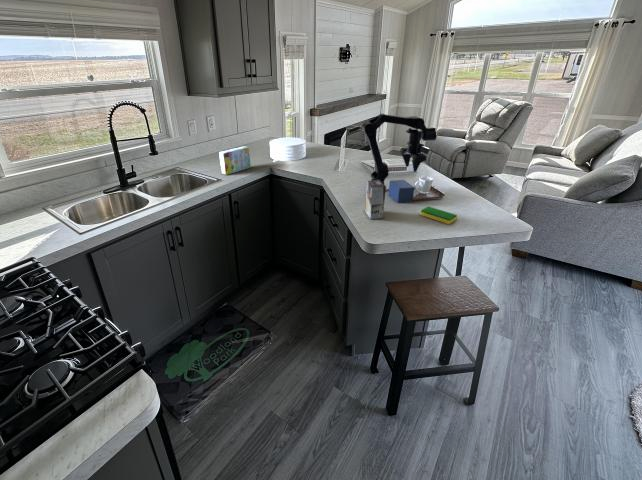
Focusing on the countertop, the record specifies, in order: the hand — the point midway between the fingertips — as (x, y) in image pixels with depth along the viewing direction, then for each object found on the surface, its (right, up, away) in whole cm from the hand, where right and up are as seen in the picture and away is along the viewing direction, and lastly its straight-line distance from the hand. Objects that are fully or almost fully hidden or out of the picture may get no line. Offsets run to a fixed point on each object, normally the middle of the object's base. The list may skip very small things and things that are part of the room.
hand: (411, 169), depth 180 cm
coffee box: (-27, -25, -24) cm, 44 cm away
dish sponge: (+2, -26, -28) cm, 38 cm away
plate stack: (-68, +19, +77) cm, 105 cm away
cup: (+4, -14, -6) cm, 15 cm away
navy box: (0, -15, -5) cm, 16 cm away
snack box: (-104, +4, +45) cm, 113 cm away
